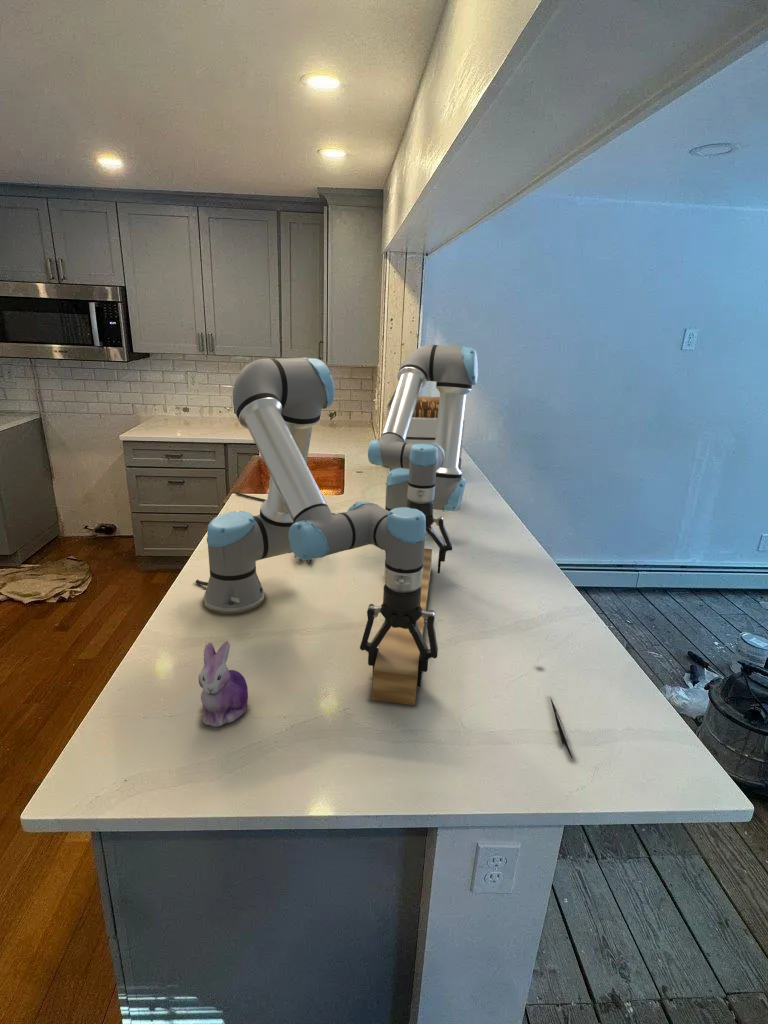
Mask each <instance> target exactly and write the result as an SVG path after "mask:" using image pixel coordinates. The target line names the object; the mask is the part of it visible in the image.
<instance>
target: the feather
mask: <svg viewBox="0 0 768 1024" xmlns="http://www.w3.org/2000/svg"><path fill="white" fill-rule="evenodd" d="M539 669H541V666H540V667H539ZM549 697H550V702H551V706H552V710H553V714H554V718H555V722H556V726H557V729H558V732H559V737H560V740H561V744H562V745H564V746H565V748H566V750H567V751H568V753H569V755H570V757H571V758H573V756H572V753H571V750H570V748H569V745H570V747H572V744H571V740H569V741H568V742H567V740H566V739H567V738H569V735H567V732H566V727H564V723H563V721H562V720H561V717H560V715H559V713H558V710H557V708H556V706H555V704H554V702H553V699H552V697H551V696H549ZM566 735H567V738H566ZM568 743H569V744H568Z"/></svg>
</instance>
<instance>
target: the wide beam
mask: <svg viewBox="0 0 768 1024" xmlns="http://www.w3.org/2000/svg"><path fill="white" fill-rule="evenodd" d="M432 562H433V548H427V547H426V548H425V547H424V559H423V575H422V585H421V602H420V606H421V608H422V610H423V611H427V606H428V605H427V604H428V597H429V589H430V582H431V572H432ZM416 622H417V625H418V628H419V630H420V632H421V634H422V636H423V637H424V631H425V624H426V623H425V622H424V619H423V617H420V618H419V619H418V620H417V621H416ZM378 648H379V649H378V654H377V658H376V662H375V666H374V670H373V669H372V678H373V681H372V691H371V692H372V693H371V700H372V701H375V702H377V701H378V702H385V703H391V704H392V703H394V704H400V705H409V706H415V705H416V698H417V692H418V691H417V690H418V689H417V688H418V687H417V679H418V665H419V655H420V651H419V649H418V647H417V645H416V643H415V641H414V638H413V636H412V634H411V633H410V632H409V629H408V628H407V629H403V628H400V627H398V628H393V627H392V626H391V628H390V629H389V631H387V633H386V635H385V636H384V638H383V639H382V641H381V642H380V644H379V645H378Z"/></svg>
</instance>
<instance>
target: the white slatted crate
mask: <svg viewBox="0 0 768 1024" xmlns="http://www.w3.org/2000/svg"><path fill="white" fill-rule="evenodd" d="M395 391H396V389H395V390H394V392H393V394H392V395H391V398H390V400H389V402H388V404H387V405H386V413H385V414H386V415H385V420H386V419H387V416H388V413H389V410H390V407H391V403H392V400H393V397H394V394H395ZM439 398H440V396H419V397H418V400H417V403H416V407H415V410H414V413H413V417H412V420H411V423H410V427H409V430H408V434H407V437H406V440H405V443H411V444H429V443H435V437H436V427H437V418H438V408H439ZM464 429H465V419H464V418H463V427H462V436H461V445H460V453H459V462H458V468H459V470H460V471H461V472H462V461H463V460H462V453H463V442H464V441H463V440H462V439H463V438H464V431H465V430H464ZM386 467H388V466H386ZM388 468H389V472H390V471H391V470H393V469H396V468H397V467H388Z"/></svg>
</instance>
